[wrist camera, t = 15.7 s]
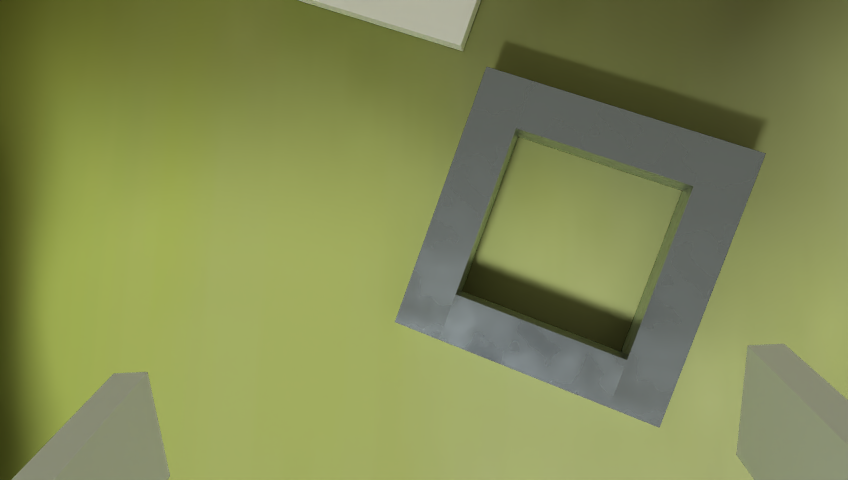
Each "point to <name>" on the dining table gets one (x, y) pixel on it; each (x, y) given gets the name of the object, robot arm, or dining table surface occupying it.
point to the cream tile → (413, 17)
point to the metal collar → (671, 275)
